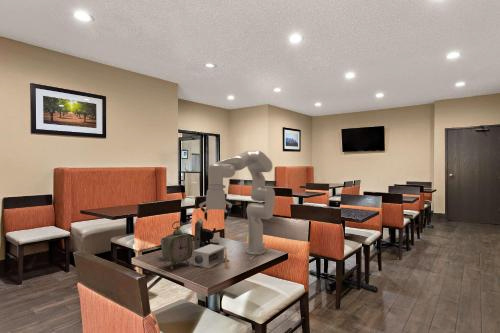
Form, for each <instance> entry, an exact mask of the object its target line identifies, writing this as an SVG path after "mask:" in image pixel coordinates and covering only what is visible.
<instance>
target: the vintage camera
mask: <svg viewBox="0 0 500 333" xmlns="http://www.w3.org/2000/svg"><path fill="white" fill-rule="evenodd" d="M216 230H217V228H216V227H213V230H211V229H209V228H204V221H203V220H202V219H199V220H197V221H196V222H195V224H194V239H193V240H194V242H193V243H194V244H193V251H194V250H196V249H199V248H202V247H204V246H207V245H210V244H213V245H219V246H220V243H219V242H213V241H211V240H213V239H214V237H215V233H216Z"/></svg>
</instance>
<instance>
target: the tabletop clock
mask: <svg viewBox="0 0 500 333" xmlns="http://www.w3.org/2000/svg"><path fill="white" fill-rule="evenodd" d="M176 223H181V226H176V227H174V225H175V224H176ZM183 225H184V224H183V222H182V221H180V220H177V221H176V220H175V221H174V222H173V223H172V224H171V227H172V229H174V230H173V232H172V233H170V234H168V235H166V236H165V237H163V238H164V240H163V255H164V259H165V260H164V261H166V260H167V262H171V266H170V270H171V271H172V270H174V266H177V264H178V263H183V262H186V265H187V266H188V265H190V261H188V260H189V259H191V258H192V257H193V256H192V255H193V251H194V244H193V243H194V242H193V237H192V235H191V234H188V233H184V232H183V231H182V230H181V229H182V227H183Z"/></svg>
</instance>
